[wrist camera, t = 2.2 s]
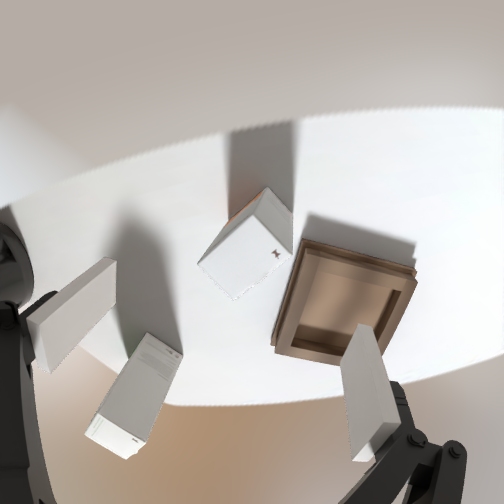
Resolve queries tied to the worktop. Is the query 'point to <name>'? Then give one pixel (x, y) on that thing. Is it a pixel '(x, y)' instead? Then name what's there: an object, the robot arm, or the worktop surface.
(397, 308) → the brown square tray
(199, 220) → the worktop surface
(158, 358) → the skincare box
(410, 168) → the worktop surface
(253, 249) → the skincare box
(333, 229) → the worktop surface
